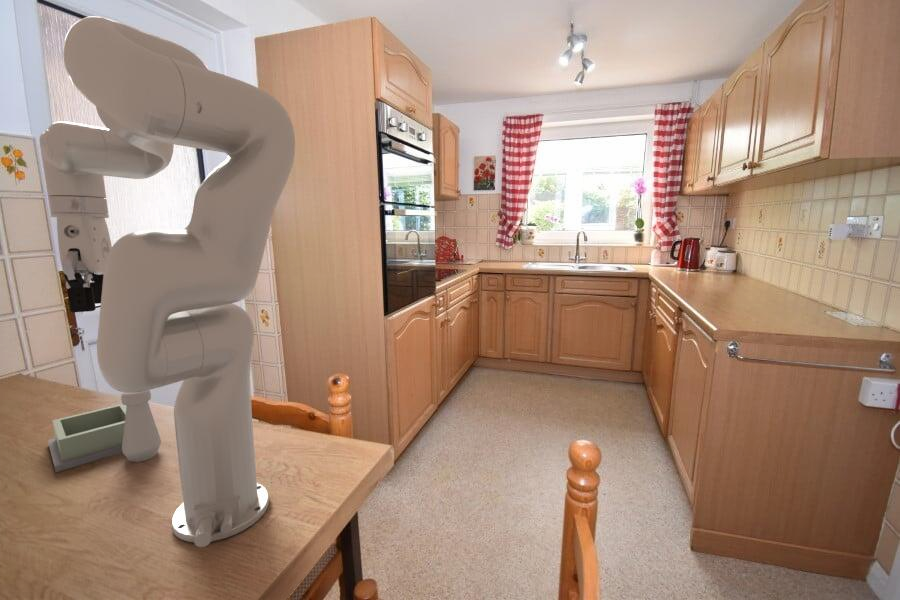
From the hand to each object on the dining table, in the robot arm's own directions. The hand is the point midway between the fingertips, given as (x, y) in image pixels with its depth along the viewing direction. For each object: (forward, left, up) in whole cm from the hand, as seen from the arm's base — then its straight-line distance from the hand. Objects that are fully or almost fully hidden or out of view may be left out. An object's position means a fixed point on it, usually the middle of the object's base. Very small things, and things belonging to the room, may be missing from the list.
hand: (93, 306), depth 74 cm
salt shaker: (-5, -6, -28) cm, 29 cm away
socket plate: (+3, +3, -28) cm, 28 cm away
